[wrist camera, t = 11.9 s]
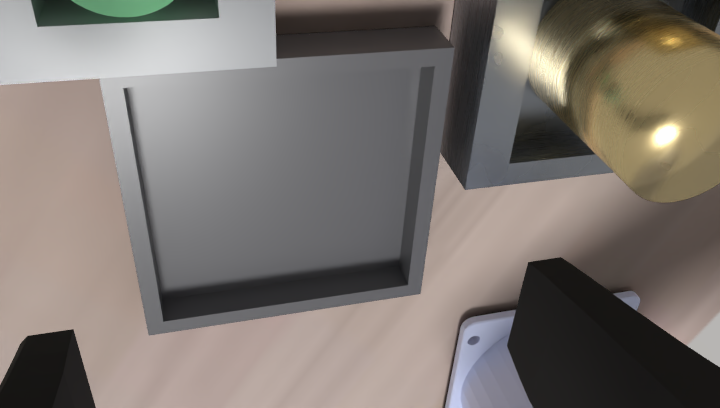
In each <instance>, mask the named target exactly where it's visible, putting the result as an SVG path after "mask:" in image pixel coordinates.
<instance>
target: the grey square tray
mask: <svg viewBox="0 0 720 408" xmlns="http://www.w3.org/2000/svg"><path fill="white" fill-rule="evenodd" d="M454 49H455V47H454V46H453V45H452V44H451V43H450V42H449V41H448V40H447V39H446V37H445V36H444V35H443V34H442V33H441V32H440V31H439V30H438V29H437V27H436V26H430V27H412V28H394V29H376V30H358V31H340V32H322V33H304V34H286V35H276V60H277V67H263V68H248V69H233V70H218V71H203V72H188V73H172V74H157V75H142V76H127V77H112V78H99V80H100V85H101V91H102V96H103V101H104V106H105V111H106V117H107V122H108V127H109V132H110V137H111V142H112V148H113V153H114V158H115V163H116V168H117V173H118V179H119V184H120V189H121V194H122V199H123V204H124V210H125V215H126V220H127V225H128V230H129V236H130V241H131V246H132V251H133V256H134V261H135V267H136V272H137V277H138V282H139V287H140V292H141V298H142V303H143V308H144V313H145V318H146V324H147V329H148V334H149V335H155V334H162V333H168V332H175V331H181V330H188V329H194V328H201V327H207V326H214V325H220V324H227V323H233V322H240V321H246V320H253V319H259V318H266V317H273V316H279V315H286V314H292V313H299V312H305V311H312V310H318V309H325V308H331V307H338V306H344V305H351V304H357V303H364V302H370V301H377V300H383V299H390V298H397V297H403V296H410V295H416V294H420V293H421V286H422V279H423V271H424V264H425V257H426V250H427V243H428V236H429V228H430V221H431V214H432V207H433V200H434V192H435V185H436V178H437V171H438V164H439V157H440V149H441V142H442V135H443V128H444V121H445V114H446V106H447V99H448V92H449V85H450V78H451V70H452V63H453V56H454Z"/></svg>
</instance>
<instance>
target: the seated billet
mask: <svg viewBox="0 0 720 408" xmlns="http://www.w3.org/2000/svg"><path fill="white" fill-rule="evenodd" d="M528 80H529V83H530V85H531V87H532V89H533V91H534V92H535V94H536V95H537V96H538V97H539V98H540V99H541V100H542V101H543V102H544V103H545V104H546V105H547V106H548V107H549V108H550V109H551V110H552V111H553V112H554V113H555V114H556V115H557V116H558V117H559V118H560V119H561V120H562V121H563V122H564V123H565V124H566V125H567V126H568V127H569V128H570V129H571V130H572V131H573V132H574V133H575V134H576V135H577V136H578V137H579V138H580V139H581V140H582V141H583V142H584V143H585V144H586V145H587V146H588V147H589V148H590V149H591V150H592V151H593V152H594V153H595V154H596V155H597V156H598V157H599V158H600V159H601V160H602V161H603V162H604V163H605V164H606V165H607V166H608V167H609V168H610V169H611V170H612V171H613V172H614V173H615V174H616V175H617V176H618V177H619V178H620V179H621V180H622V181H623V182H624V183H625V184H626V185H627V186H628V187H629V188H630V189H631V190H632V191H634V192H635V193H636V194H637V195H638V196H640V197H642V198H644V199H646V200H649V201H653V202H662V203H667V202H676V201H681V200H685V199H688V198H692V197H694V196H697V195H699V194H702V193H704V192H706V191H708V190H709V189H711V188H713V187H715V186H716V185H718V184H719V183H720V35H718V34H717V33H715V32H713V31H712V30H710V29H708V28H706V27H705V26H703V25H701V24H699V23H698V22H696V21H694V20H693V19H691V18H689V17H687V16H686V15H684V14H682V13H681V12H679V11H677V10H675V9H674V8H672V7H670V6H669V5H667V4H665V3H663V2H662V1H660V0H559V1H558V2H557V3H556V4H555V5H554V6H553V7H552V8H551V9H550V10H549V11H548V13H547V14H546V15H545V16H544V18H543V19H542V21H541V22H540V24H539V25H538V29H537V34H536V39H535V44H534V48H533V53H532V58H531V62H530V67H529V72H528Z"/></svg>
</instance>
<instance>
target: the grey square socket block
mask: <svg viewBox="0 0 720 408" xmlns="http://www.w3.org/2000/svg"><path fill="white" fill-rule="evenodd" d="M263 67H277V60H276V20H275V0H174V1H172V2H171V3H170V4H168V5H167V6H165V7H163V8H161V9H160V10H158V11H155V12H152V13H150V14H146V15H142V16H137V17H113V16H107V15H103V14H99V13H95V12H93V11H90V10H88V9H85V8H83V7H81V6H80V5H78V4H76V3H74V2H73V1H71V0H0V85H7V84H22V83H37V82H52V81H67V80H82V79H97V78H112V77H127V76H142V75H157V74H172V73H188V72H203V71H218V70H233V69H248V68H263Z"/></svg>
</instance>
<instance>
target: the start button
mask: <svg viewBox="0 0 720 408" xmlns="http://www.w3.org/2000/svg"><path fill="white" fill-rule="evenodd" d="M71 1H73V2H74V3H76V4H78V5H80V6H81V7H83V8H85V9H88V10H90V11H93V12H95V13H99V14H103V15H107V16H113V17H137V16H142V15H146V14H150V13H152V12H155V11H158V10H160V9H161V8H163V7H165V6H167V5H168V4H170V3H171V2H172V1H174V0H71Z"/></svg>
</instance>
